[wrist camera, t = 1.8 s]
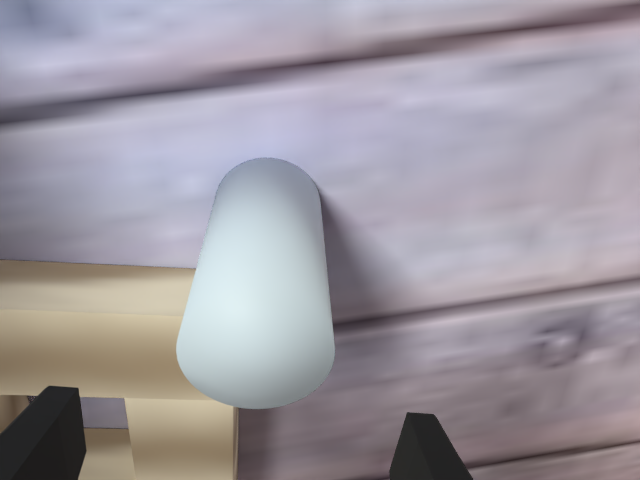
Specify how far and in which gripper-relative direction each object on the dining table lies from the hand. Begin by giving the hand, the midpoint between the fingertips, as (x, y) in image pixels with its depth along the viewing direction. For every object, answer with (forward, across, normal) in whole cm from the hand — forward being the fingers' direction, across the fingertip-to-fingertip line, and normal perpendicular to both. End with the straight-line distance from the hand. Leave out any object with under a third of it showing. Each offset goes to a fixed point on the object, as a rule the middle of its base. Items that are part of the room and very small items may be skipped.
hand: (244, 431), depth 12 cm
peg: (+10, 0, 0) cm, 10 cm away
